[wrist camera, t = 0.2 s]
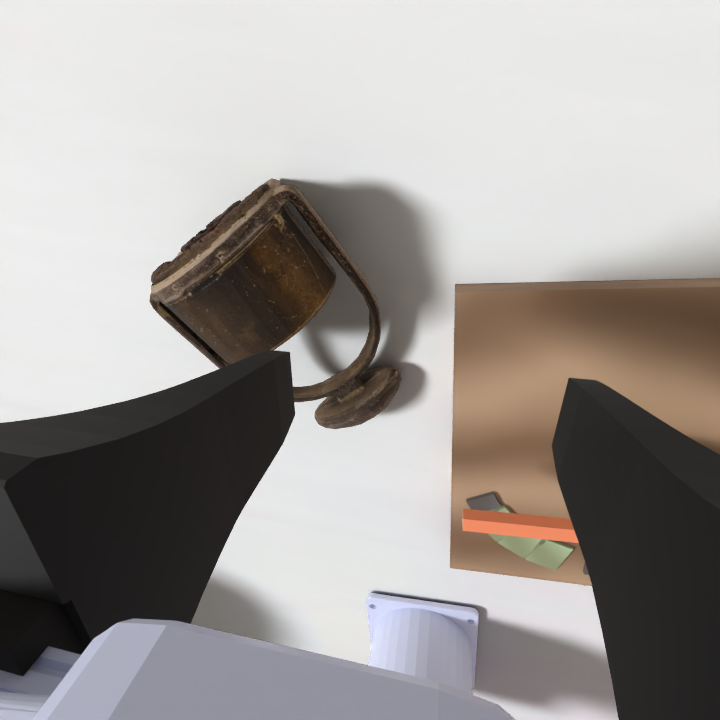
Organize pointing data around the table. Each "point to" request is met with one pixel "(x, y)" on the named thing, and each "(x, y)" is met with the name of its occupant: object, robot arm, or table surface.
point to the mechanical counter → (270, 297)
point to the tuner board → (547, 388)
